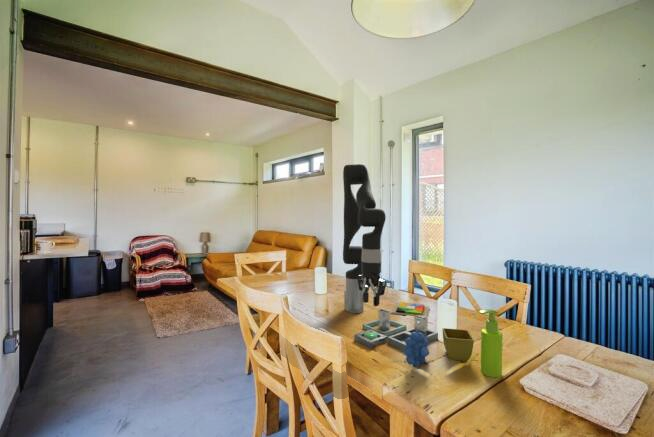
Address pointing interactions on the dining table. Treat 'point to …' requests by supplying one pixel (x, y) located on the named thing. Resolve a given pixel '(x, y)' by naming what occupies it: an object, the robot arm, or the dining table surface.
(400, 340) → the tray
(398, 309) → the wooden puzzle
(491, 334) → the soap dispenser
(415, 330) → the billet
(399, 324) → the tray
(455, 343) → the flower pot
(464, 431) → the dining table surface
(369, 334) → the button
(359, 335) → the grey button housing
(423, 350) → the grapes
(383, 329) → the cylinder
